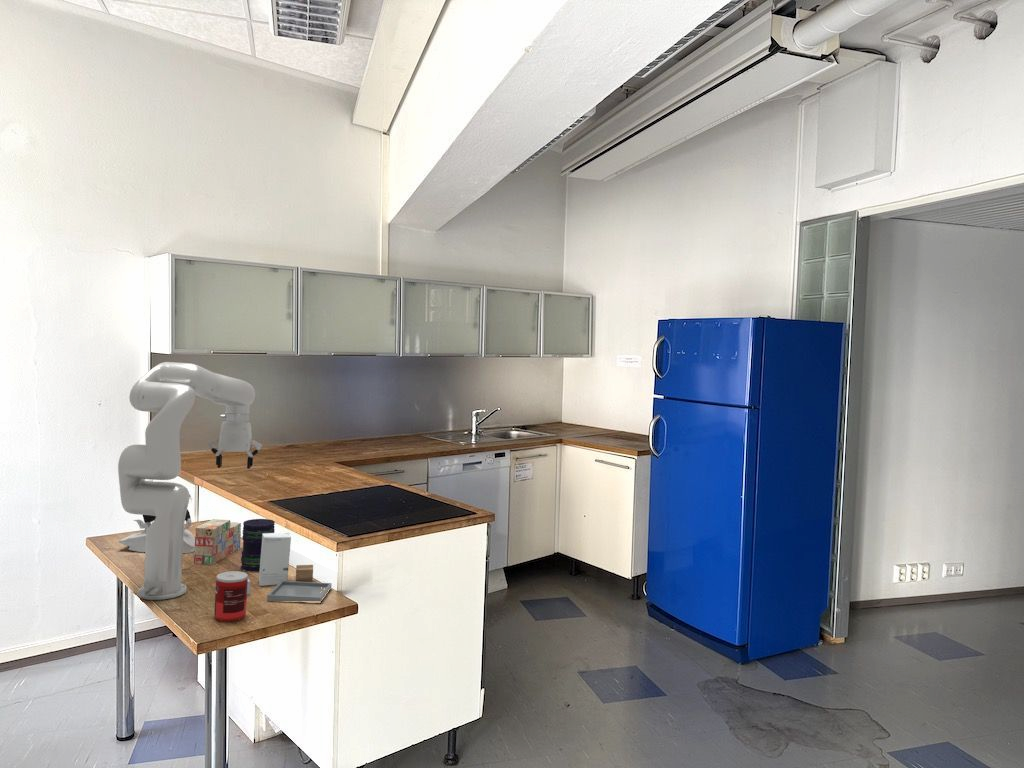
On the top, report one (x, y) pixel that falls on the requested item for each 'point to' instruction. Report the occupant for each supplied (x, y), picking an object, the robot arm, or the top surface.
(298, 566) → the walnut block
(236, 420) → the robot arm
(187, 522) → the iron
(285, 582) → the slate tray
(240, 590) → the canned food
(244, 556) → the storage jar
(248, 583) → the blue-grey painted block
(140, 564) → the top surface
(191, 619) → the top surface
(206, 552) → the stack of blocks
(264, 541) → the skincare box
